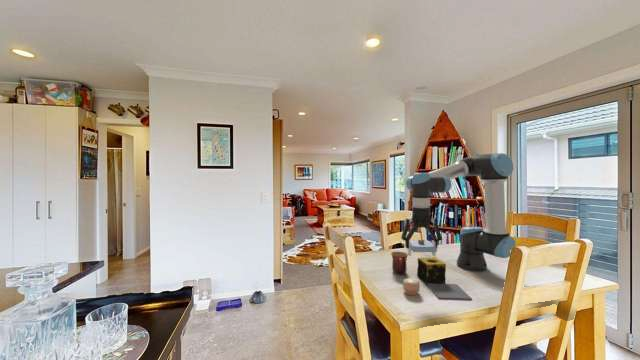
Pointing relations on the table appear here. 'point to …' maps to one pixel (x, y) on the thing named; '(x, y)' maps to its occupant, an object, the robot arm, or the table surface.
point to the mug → (399, 262)
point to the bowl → (411, 286)
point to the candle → (431, 270)
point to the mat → (448, 291)
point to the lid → (422, 246)
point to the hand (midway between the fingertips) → (421, 255)
